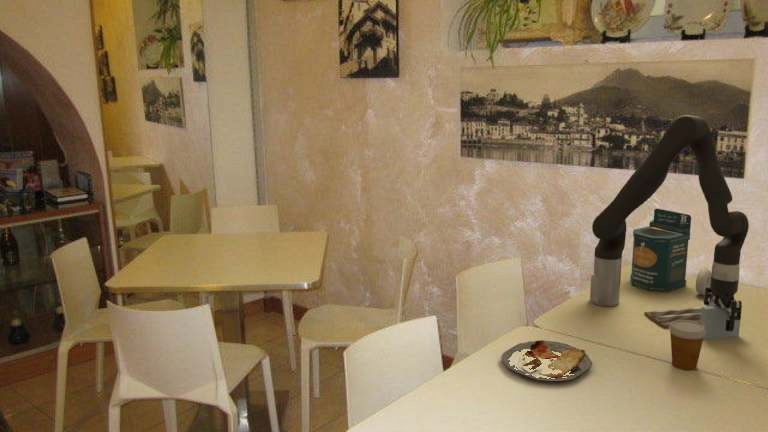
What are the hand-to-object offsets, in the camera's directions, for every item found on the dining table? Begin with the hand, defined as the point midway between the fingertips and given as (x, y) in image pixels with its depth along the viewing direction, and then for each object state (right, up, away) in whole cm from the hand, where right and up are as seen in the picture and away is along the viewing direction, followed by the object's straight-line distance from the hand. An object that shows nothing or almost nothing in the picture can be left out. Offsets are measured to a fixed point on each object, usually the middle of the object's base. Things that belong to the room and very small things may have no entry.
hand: (720, 325), depth 198 cm
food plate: (-58, -9, -15) cm, 60 cm away
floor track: (-2, 0, +15) cm, 15 cm away
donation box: (0, +7, +49) cm, 50 cm away
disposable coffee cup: (-19, -8, -17) cm, 27 cm away
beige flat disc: (+13, +5, +37) cm, 40 cm away
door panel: (0, -4, +1) cm, 4 cm away
